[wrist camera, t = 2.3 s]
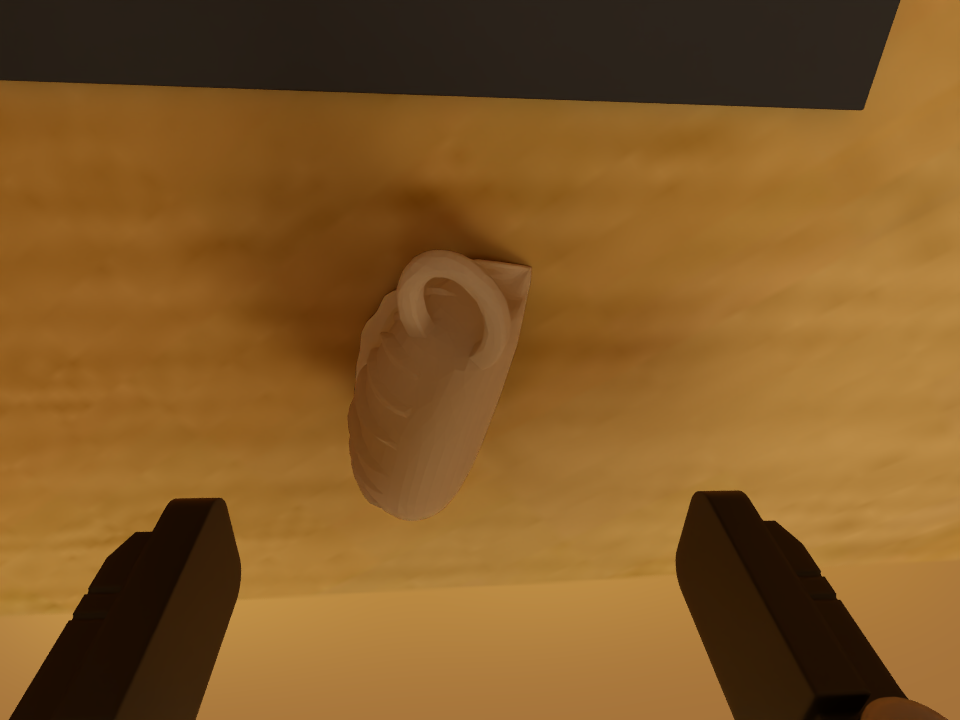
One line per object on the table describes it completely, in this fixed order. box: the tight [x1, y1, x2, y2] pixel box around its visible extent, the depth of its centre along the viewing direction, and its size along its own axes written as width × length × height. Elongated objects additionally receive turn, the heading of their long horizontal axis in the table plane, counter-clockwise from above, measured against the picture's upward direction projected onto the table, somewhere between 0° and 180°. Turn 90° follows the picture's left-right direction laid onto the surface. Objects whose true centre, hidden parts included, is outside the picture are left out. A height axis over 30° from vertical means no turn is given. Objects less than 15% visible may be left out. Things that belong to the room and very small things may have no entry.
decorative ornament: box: [348, 250, 531, 521], centre depth 15 cm, size 4×8×5 cm, turn 161°
